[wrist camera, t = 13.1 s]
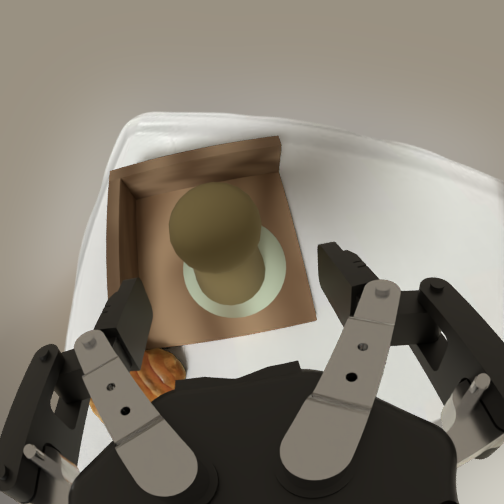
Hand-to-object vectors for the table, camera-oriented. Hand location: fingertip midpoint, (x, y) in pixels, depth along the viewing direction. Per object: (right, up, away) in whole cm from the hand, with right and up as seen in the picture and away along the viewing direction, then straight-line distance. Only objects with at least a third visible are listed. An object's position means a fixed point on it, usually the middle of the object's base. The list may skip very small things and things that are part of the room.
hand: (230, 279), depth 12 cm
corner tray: (-3, +1, +14) cm, 14 cm away
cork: (-1, -1, +12) cm, 12 cm away
